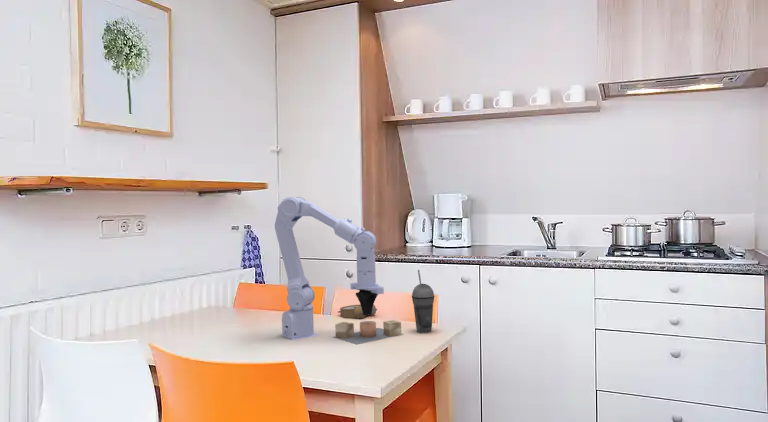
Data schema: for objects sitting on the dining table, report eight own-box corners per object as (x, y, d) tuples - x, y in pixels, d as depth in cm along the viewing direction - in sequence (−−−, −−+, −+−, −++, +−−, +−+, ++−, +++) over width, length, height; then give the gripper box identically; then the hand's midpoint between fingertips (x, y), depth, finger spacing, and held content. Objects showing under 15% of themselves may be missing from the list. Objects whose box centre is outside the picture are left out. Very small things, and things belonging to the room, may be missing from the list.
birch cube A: (345, 338, 180) (345, 325, 180) (335, 337, 182) (335, 324, 182) (354, 336, 183) (353, 323, 183) (344, 334, 185) (343, 321, 185)
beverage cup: (434, 336, 182) (432, 271, 182) (410, 335, 184) (408, 271, 183) (437, 330, 190) (435, 268, 189) (414, 330, 191) (412, 268, 191)
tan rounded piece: (366, 338, 180) (366, 325, 179) (356, 335, 184) (356, 322, 183) (379, 335, 183) (379, 322, 183) (369, 332, 187) (369, 320, 186)
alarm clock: (354, 304, 227) (382, 300, 217) (356, 317, 226) (385, 314, 216) (333, 308, 218) (361, 305, 209) (335, 322, 218) (363, 319, 208)
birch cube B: (389, 336, 181) (389, 323, 180) (383, 334, 184) (383, 321, 184) (401, 335, 182) (400, 322, 182) (394, 332, 186) (394, 319, 186)
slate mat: (356, 346, 172) (356, 344, 172) (332, 339, 183) (332, 337, 183) (404, 336, 184) (404, 334, 184) (378, 329, 194) (378, 327, 194)
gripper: (391, 271, 179) (392, 316, 180) (362, 267, 191) (363, 309, 191) (372, 273, 175) (373, 319, 175) (344, 270, 186) (345, 312, 187)
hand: (367, 314), depth 183 cm, fingers closed
